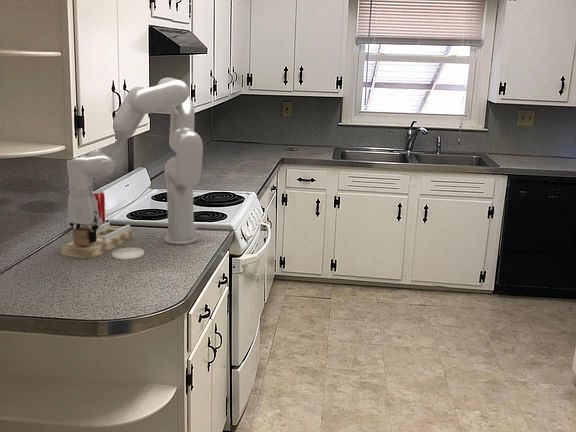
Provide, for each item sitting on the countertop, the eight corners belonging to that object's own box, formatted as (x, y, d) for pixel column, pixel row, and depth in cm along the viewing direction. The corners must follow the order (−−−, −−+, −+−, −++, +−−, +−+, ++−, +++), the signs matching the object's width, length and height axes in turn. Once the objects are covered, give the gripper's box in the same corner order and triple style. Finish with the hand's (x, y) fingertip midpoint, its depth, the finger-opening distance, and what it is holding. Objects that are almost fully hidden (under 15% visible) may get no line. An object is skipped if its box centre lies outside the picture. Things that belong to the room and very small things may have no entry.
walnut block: (82, 240, 230) (81, 226, 229) (94, 241, 228) (93, 228, 227) (74, 244, 226) (72, 230, 224) (86, 245, 224) (84, 232, 222)
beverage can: (88, 231, 254) (85, 193, 249) (93, 226, 260) (91, 189, 256) (103, 231, 253) (100, 194, 249) (108, 226, 260) (106, 190, 255)
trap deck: (106, 234, 250) (105, 221, 248) (132, 238, 246) (132, 225, 245) (61, 254, 226) (60, 241, 225) (90, 259, 222) (89, 245, 221)
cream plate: (123, 248, 234) (123, 245, 234) (150, 251, 231) (150, 249, 231) (105, 257, 224) (105, 255, 224) (133, 261, 221) (133, 259, 221)
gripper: (53, 191, 222) (59, 242, 227) (95, 195, 217) (100, 247, 222) (67, 186, 229) (73, 235, 234) (108, 190, 223) (113, 240, 229)
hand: (86, 240), depth 228 cm, fingers closed on walnut block, 5 cm apart
